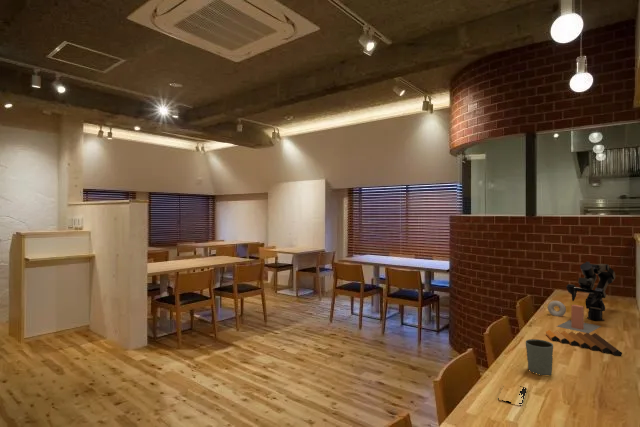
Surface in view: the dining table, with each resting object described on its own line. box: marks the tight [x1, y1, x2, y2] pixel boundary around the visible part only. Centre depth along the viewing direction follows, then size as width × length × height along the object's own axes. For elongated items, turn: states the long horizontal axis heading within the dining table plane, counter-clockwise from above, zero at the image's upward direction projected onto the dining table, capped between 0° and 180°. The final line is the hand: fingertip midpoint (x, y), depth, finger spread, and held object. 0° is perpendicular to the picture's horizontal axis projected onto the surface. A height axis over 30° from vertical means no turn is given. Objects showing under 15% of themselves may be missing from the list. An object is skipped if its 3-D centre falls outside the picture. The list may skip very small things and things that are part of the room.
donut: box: [547, 300, 567, 317], centre depth 243 cm, size 10×4×10 cm, turn 45°
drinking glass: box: [525, 338, 554, 376], centre depth 162 cm, size 10×10×12 cm
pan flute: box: [545, 329, 623, 357], centre depth 193 cm, size 25×3×25 cm
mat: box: [556, 319, 602, 334], centre depth 221 cm, size 20×16×1 cm
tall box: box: [570, 304, 585, 330], centre depth 218 cm, size 3×5×12 cm, turn 38°
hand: (581, 302), depth 223 cm, fingers open, 9 cm apart
